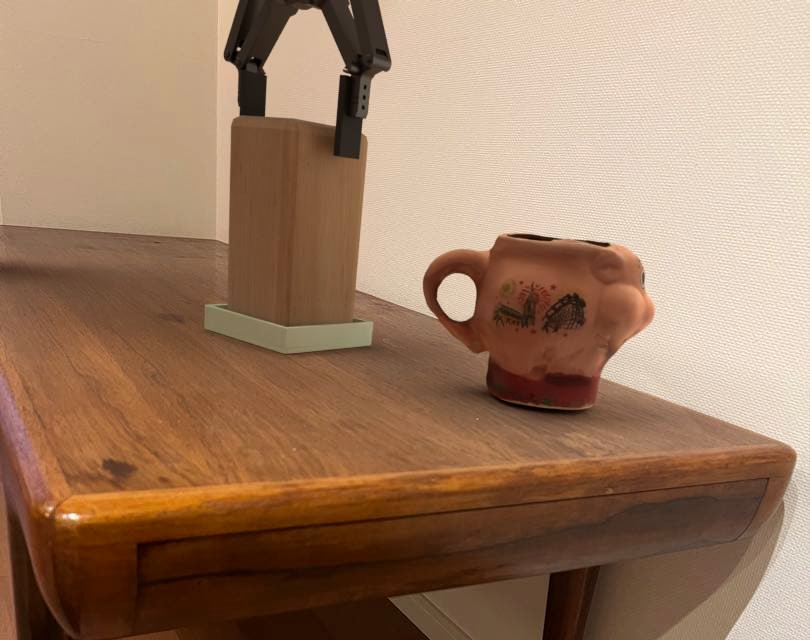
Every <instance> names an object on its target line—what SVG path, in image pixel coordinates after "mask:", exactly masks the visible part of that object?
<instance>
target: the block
mask: <svg viewBox="0 0 810 640" xmlns="http://www.w3.org/2000/svg"><path fill="white" fill-rule="evenodd" d="M335 129H336V125H330V124H326V123H321V122H314V121H311V120H304V119H299V118H293V117H275V116H265V117H260V116H243V115H241V116H236V117H234V118H233V119H232V122H231V124H230V157H229V159H230V161H229V205H228V208H229V209H228V251H227V253H228V255H227V256H228V257H227V259H228V260H227V297H226V298H227V303H226V304H227V310H229V311H232V312H236V313H239V314H243V315H246V316H249V317H253V318H256V319H260V320H263V321H267V322H270V323H274V324H277V325H281V326H284V327H296V326H311V325H326V324H341V323H353V317H354V310H355V299H356V290H357V289H356V288H357V277H358V275H357V274H358V265H359V252H360V241H361V228H362V219H363V217H362V216H363V207H364V193H365V181H366V170H367V159H368V146H369V142H368V137H367V135H365V134H364V133H362V134H361V145H360V155H359V159H352V158H346V157H340V156H333V154H334V142H335Z"/></svg>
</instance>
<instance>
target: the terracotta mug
mask: <svg viewBox="0 0 810 640" xmlns="http://www.w3.org/2000/svg"><path fill="white" fill-rule="evenodd" d="M427 267H428V268H426V271H425V273H424V275H423V278H422V292H423V296H424V300H425V302H426V306H427V307H428V309H429V310H430V312H431V313H432V314H433V315H434V316H435V317H436V318H437V320H438V321H439V322H440V324H441V325H443V327H444V328H445V329H446V331H448V332H449V333H450V335H451V336H452V337H453V338H455V339H457V340H458V341H459V342H461V343H462V344H463V345H464V346H465V347H466V348H467V349H468V350H469V351H471V352H472V353H473V354H475V355H478V354H481V353H484V352H488V353H489V356H488V360H487V370H486V376H485V384H486V387H487V390H488V391H489V392H490V393H491V395H492V396H494V397H496V398H497V399H500V400H502V401H505V402H509V403H513V404H517V405H523V406H526V407H527V406H528V407H536V408H544V409H556V410H567V411H568V410H569V411H578V410H579V411H580V410H587V409H589V408H592V407H593V406H594V405H595V403H596V400H597V397H598V391H599V384H600V380H601V374H602V373H603V370H604V368H605V367H606V365H607V363H608V362H609V361H610V359H611V358H612V357H614V356H615V355H616V353H617V352H618V351H619V350H620V349H621V347H623V345H624V344H625V343H626V342H627V341H630V340H631V339H632V338H634V337H635V336H637V335H638V334H639V333H641V332H643V331H644V330H645V329H646V328H648V327H649V326H650V325H651V323H652V322H653V320H654V318H655V314H656V307H655V304H654V301H653V299H652V298H651V297H650V296H649V294H648V292H647V291H646V287H645V286H646V285H645V284H646V283H645V281H646V271H645V268H644V265H643V263H642V261H641V259H640V258H639V257H638V255H637V254H635V252H633V251H632V250H630V249H629V248H628V247H626V246H624V245H621V244H616V243H612V242H606V241H605V242H604V241H596V240H589V239H571V238H559V237H552V236H546V235H545V236H544V235H539V234H533V233H525V232H507V233H503V234H499V235H497V237H496V239H495V241H494V244H493V245H492V247H491V248H490V249H488V250H475V249H469V248H457V249H452V250H449V251H446V252H444V253H442V254H440V255H438V256H437V257H436V258H434V259H433V260H432V262H430V264H429V265H428V266H427ZM453 274H460V275H464V276H467V277H468V278H469V279H470V280H471V281H472V282H473V284H474V287H475V292H476V293H475V304H474V311H473V314H472V316H471V317H469V318H468V319H466V320H460V321H459V320H455V319H453V318H451V317H449V315H448V314H447V313H446V312H445V310H443V308H442V306H441V304H440V303H439V301H438V293H439V292H438V291H439V288H440V286H441V284H442V283H443V282H444V280H445V279H446V278H447V277H450V276H451V275H453Z"/></svg>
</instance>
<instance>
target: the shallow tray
mask: <svg viewBox="0 0 810 640" xmlns="http://www.w3.org/2000/svg"><path fill="white" fill-rule="evenodd" d="M373 328H374V321H370V320H366V319H362V318H358V317H354V316H353V323H341V324H326V325H311V326H296V327H284V326H281V325H277V324H274V323H270V322H267V321H263V320H260V319H256V318H253V317H249V316H246V315H243V314H239V313H236V312H232V311H229V310H227V303H218V304H217V303H215V304H213V303H211V304H204V330H207V331H210V332H213V333H216V334H220V335H223V336H226V337H228V338H229V337H230V338H232V339H235V340H238V341H242V342H246V343H248V344H252V345H255V346H258V347H261V348H264V349H266V350H270V351H273V352H275V353H280V354H283V355H291V354H300V353H301V354H302V353H313V352H321V351H329V350H340V349H350V348H360V347H370V346H372V341H373V332H374V331H373V330H374V329H373Z"/></svg>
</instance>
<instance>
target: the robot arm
mask: <svg viewBox="0 0 810 640" xmlns="http://www.w3.org/2000/svg"><path fill="white" fill-rule="evenodd" d="M349 6H350V7H349ZM312 8H313V9H316V10H318V11H321V13H322V15H323V17H324V20H325V22H326V25H327V27H328V28H329V31H330V33H331V36H332V38H333V40H334V42H335V45H336V47H337V49H338V51H339V54H340V56H341V59H342V61H343V63H344V68H343V69H342V72H343V73H344V74H339V80H338V91H337V92H338V93H337V104H336V118H335V126H336V129H335V142H334V154H333V156H340V157H346V158H352V159H359V155H360V145H361V134H363V132H362V131H363V122H364V120H366V119H367V117H368V114H369V108H370V96H371V86H372V81H373V79H374V78H375V76H376V75H379V73H382V72H383V73H387V72H389V71H390V70H391V68H392V65H393V64H392V63H393V62H392V57H391V52H390V48H389V43H388V39H387V35H386V29H385V25H384V20H383V15H382V12H381V7H380V3H379V0H238V3H237V7H236V10H235V14H234V16H233V20H232V23H231V26H230V30H229V33H228V36H227V39H226V43H225V46H224V48H223V49H224V50H223V53H222V54H223V59H224V61H225V62H228V63H230V64H232V65H233V66H234V67H235V69H237V74H238V76H237V79H238V80H237V101H236V102H237V107H239V116H241V115H243V116H260V117H266V106H267V87H268V85H267V84H268V81H267V80H268V75H266V74H267V72H266V70H265V69H264V66H265V64H266V63H267V60H268V59H269V57H270V55H271V54H272V51H273V49H275V46H276V44H277V42H278V40H279V39H280V37H281V35H282V33H283V31H284V29H285V27H286V26H287V24H288V21H289V20H290V18H291V17H294V16H295V15H297V13H298V12H299V11H300V10H301V11H308V10H310V9H312ZM350 8H351V10H350ZM238 48H239V49H238ZM239 116H238V117H239Z"/></svg>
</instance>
